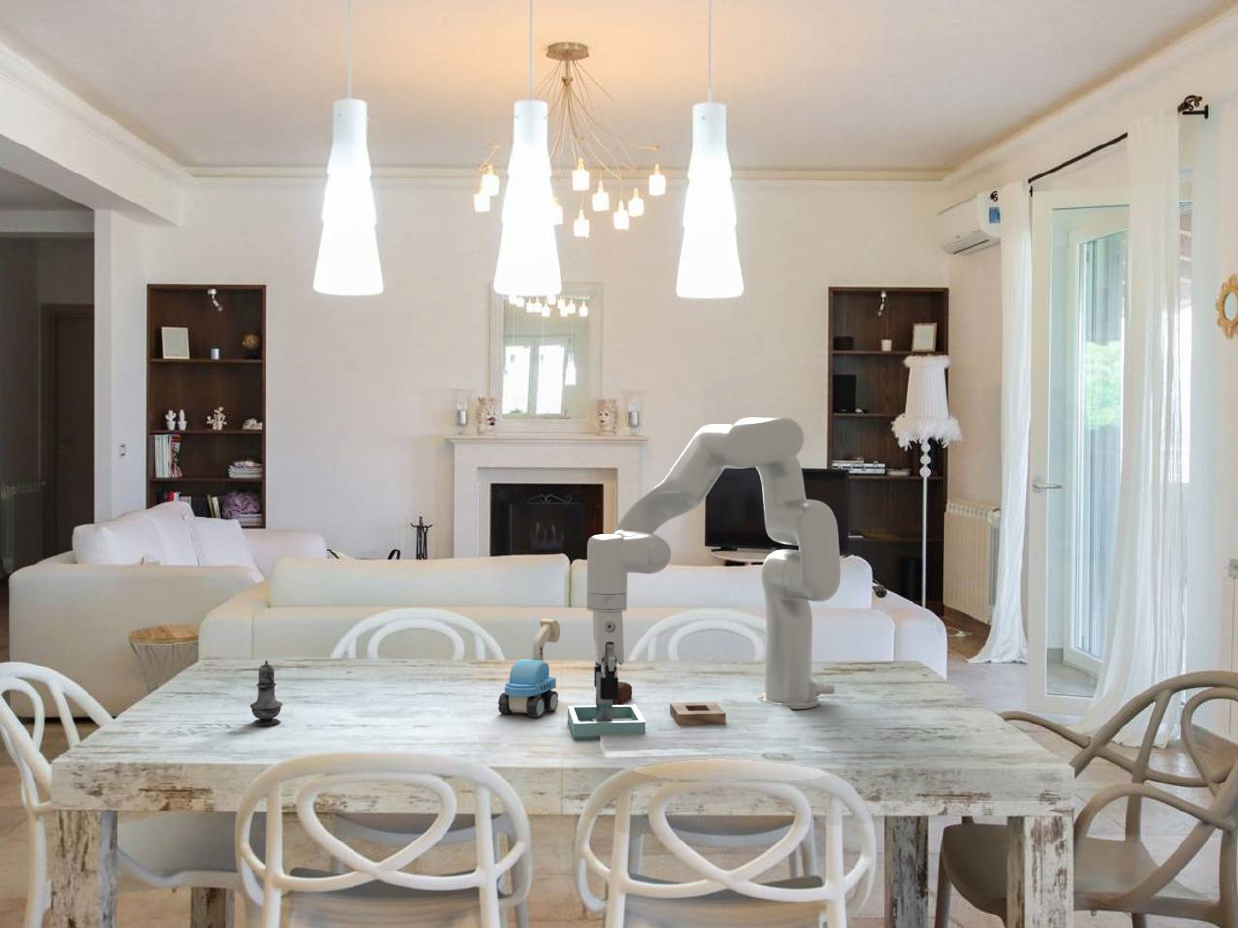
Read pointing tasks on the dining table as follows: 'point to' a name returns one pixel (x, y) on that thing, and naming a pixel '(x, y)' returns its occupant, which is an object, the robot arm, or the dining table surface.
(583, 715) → the tray
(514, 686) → the toy excavator
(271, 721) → the salt shaker
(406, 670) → the dining table surface
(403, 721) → the dining table surface
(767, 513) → the robot arm
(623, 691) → the brick
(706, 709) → the wooden square frame
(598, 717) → the pin
